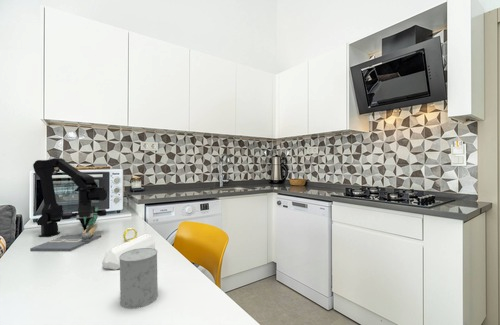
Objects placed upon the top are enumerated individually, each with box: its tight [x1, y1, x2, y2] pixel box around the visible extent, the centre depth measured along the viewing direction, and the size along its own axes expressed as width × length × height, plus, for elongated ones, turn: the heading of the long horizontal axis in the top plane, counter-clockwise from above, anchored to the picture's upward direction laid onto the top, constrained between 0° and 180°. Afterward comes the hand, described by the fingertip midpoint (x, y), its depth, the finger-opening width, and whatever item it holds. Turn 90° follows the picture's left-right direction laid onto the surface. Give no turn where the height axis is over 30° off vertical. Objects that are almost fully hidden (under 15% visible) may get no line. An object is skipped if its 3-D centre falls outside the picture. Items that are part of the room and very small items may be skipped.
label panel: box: [29, 234, 102, 252], centre depth 117 cm, size 19×20×2 cm
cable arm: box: [81, 223, 98, 239], centre depth 123 cm, size 19×4×3 cm, turn 23°
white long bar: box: [101, 233, 156, 271], centre depth 98 cm, size 7×7×24 cm
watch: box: [122, 227, 138, 242], centre depth 120 cm, size 6×3×6 cm, turn 140°
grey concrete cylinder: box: [119, 248, 159, 310], centre depth 69 cm, size 10×10×12 cm
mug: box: [84, 206, 99, 227], centre depth 150 cm, size 15×10×10 cm
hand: (84, 230), depth 128 cm, fingers closed
